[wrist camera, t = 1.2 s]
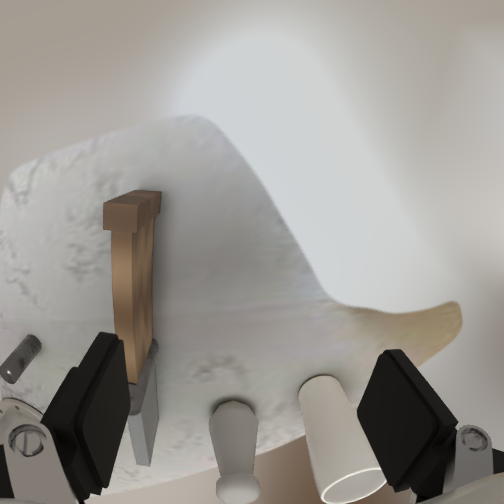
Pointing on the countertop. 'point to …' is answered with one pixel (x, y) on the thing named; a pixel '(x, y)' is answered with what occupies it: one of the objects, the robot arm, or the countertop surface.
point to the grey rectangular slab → (145, 424)
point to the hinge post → (142, 381)
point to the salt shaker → (235, 452)
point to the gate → (132, 272)
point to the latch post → (20, 359)
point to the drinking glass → (337, 443)
